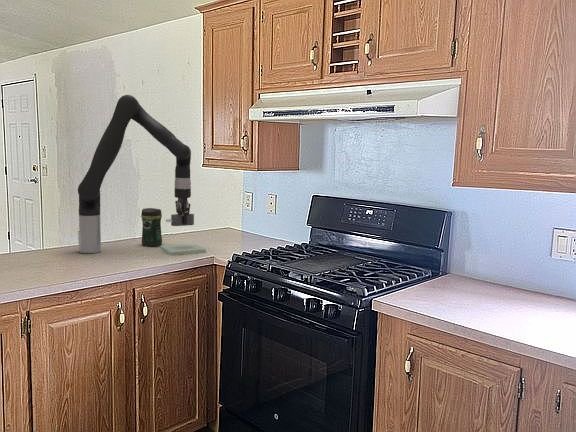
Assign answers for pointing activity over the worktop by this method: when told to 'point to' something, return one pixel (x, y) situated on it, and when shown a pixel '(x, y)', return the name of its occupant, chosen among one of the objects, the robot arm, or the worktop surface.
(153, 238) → the coffee jar
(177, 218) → the connector
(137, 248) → the worktop surface
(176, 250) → the cutting board
